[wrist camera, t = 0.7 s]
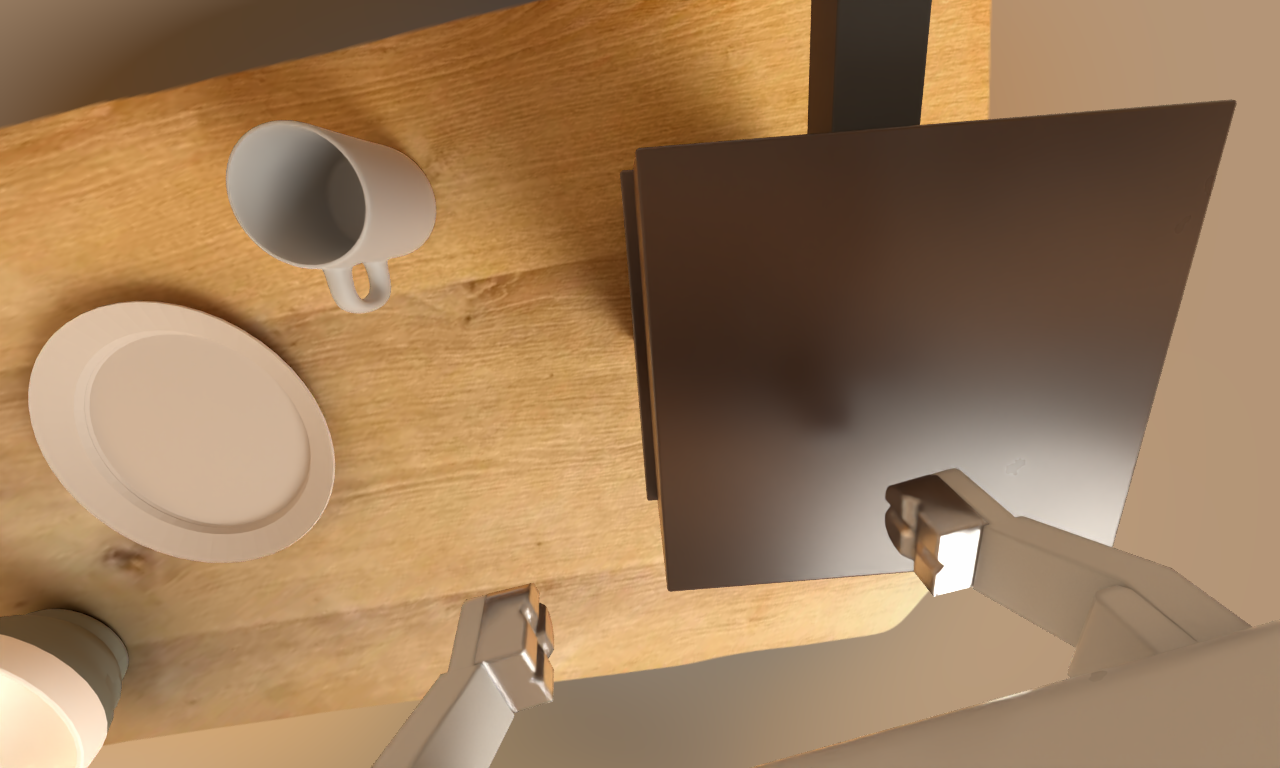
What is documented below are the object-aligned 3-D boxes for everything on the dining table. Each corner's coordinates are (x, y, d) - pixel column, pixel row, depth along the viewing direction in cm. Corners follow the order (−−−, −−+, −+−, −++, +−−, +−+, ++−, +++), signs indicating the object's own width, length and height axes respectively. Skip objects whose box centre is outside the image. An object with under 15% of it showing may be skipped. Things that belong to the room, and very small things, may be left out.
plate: (202, 240, 40) (181, 241, 38) (401, 478, 48) (392, 489, 46) (-12, 388, 44) (-41, 396, 42) (205, 588, 51) (188, 602, 49)
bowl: (133, 737, 57) (42, 834, 48) (-48, 661, 53) (-186, 752, 44) (202, 632, 53) (114, 718, 44) (9, 540, 49) (-132, 613, 40)
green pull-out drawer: (661, -339, 12) (668, -447, 10) (1080, -373, 12) (1168, -488, 10) (697, 466, 19) (705, 494, 17) (960, 444, 19) (997, 470, 17)
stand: (623, 199, 40) (616, 149, 11) (794, 186, 40) (1258, 96, 11) (635, 342, 44) (654, 594, 14) (791, 329, 44) (1125, 555, 14)
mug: (317, 148, 38) (201, 122, 28) (426, 141, 38) (351, 113, 28) (354, 301, 42) (265, 329, 32) (454, 295, 42) (397, 321, 32)
